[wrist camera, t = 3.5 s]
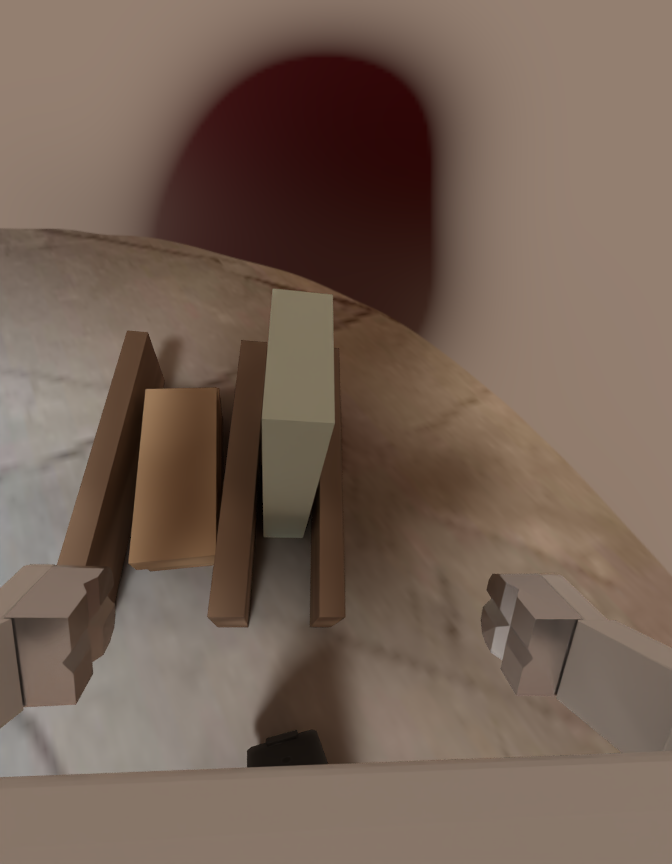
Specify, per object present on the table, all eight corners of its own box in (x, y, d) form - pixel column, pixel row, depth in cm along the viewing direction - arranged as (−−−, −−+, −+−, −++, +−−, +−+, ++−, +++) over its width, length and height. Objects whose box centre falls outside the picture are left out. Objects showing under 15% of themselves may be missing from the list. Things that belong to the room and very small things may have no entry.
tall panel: (263, 537, 26) (261, 418, 14) (269, 449, 29) (272, 288, 17) (303, 538, 26) (335, 423, 14) (305, 451, 29) (332, 294, 17)
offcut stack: (150, 581, 24) (128, 563, 20) (162, 414, 29) (146, 375, 25) (223, 573, 25) (215, 554, 21) (222, 412, 30) (216, 374, 26)
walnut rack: (84, 627, 22) (41, 616, 18) (146, 379, 30) (127, 330, 26) (331, 626, 24) (345, 616, 20) (329, 392, 32) (339, 348, 28)
